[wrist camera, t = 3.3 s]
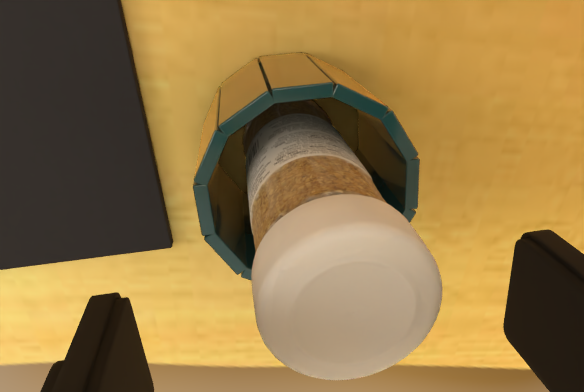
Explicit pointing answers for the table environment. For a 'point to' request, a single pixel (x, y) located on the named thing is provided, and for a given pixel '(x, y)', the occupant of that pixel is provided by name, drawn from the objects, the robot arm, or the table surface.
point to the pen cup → (278, 89)
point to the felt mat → (73, 137)
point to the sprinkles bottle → (330, 252)
